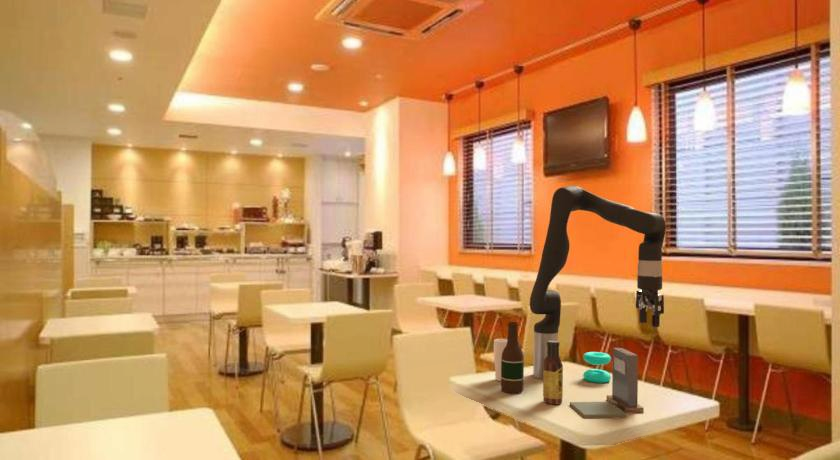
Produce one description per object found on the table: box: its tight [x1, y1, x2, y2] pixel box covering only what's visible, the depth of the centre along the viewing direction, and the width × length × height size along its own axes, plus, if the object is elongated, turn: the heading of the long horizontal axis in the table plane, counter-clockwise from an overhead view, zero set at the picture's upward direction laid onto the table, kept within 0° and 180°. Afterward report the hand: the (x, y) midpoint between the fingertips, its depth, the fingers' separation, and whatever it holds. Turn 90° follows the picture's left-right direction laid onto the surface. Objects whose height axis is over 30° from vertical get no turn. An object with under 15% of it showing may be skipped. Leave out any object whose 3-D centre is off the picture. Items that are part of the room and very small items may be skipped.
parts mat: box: [569, 401, 627, 419], centre depth 183 cm, size 13×13×1 cm
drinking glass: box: [493, 338, 507, 382], centre depth 220 cm, size 7×7×15 cm
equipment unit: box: [606, 347, 644, 414], centre depth 189 cm, size 14×6×18 cm, turn 5°
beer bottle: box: [500, 321, 525, 395], centre depth 205 cm, size 8×8×24 cm
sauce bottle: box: [542, 340, 564, 405], centre depth 192 cm, size 7×6×20 cm
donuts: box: [582, 351, 612, 384], centre depth 222 cm, size 10×10×10 cm
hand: (649, 324), depth 190 cm, fingers open, 8 cm apart
